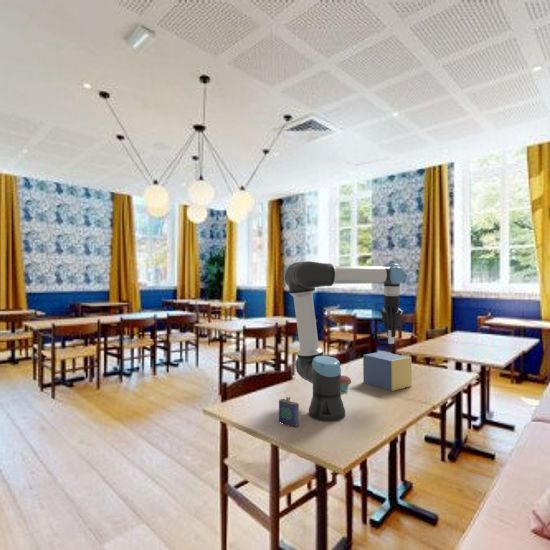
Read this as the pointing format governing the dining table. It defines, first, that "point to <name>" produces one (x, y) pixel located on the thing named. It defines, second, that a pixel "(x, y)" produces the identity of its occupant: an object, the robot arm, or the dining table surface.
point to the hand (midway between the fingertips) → (391, 343)
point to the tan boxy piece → (401, 373)
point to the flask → (289, 412)
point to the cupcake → (345, 382)
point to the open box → (379, 368)
